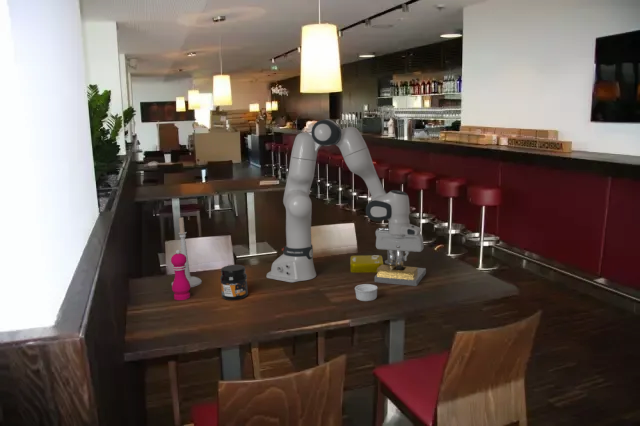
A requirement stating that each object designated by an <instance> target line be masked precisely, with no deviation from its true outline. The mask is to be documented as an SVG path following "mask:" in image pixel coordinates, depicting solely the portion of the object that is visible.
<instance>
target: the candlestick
mask: <svg viewBox="0 0 640 426" xmlns="http://www.w3.org/2000/svg"><path fill="white" fill-rule="evenodd" d="M178 226H179V232H178V233H177V234H178V235H179V238H180V253H181V254H184V255H185V256H186V260H187V261H186V263H185V265H186V269H185V275H186V278H187V279H188V281H189V283H190V288H195V287H197V286H199V285H201V284H202V279H201V278H199V277H198V276H191V272H190V264H189V256H188V249H187V245H186V244H187V243H186V236H187V235H186V234H187V231H185V221H184V217H182V216H180V217H178ZM172 284H173V281H172V282H171V285H172Z"/></svg>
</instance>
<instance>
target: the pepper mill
mask: <svg viewBox="0 0 640 426" xmlns="http://www.w3.org/2000/svg"><path fill="white" fill-rule="evenodd" d="M186 261H187V260H186V256H185V255H184V254H181V249H176V250H175V254H173V255H171V259H170V262H171V264H172V265H173V266H172V269H173V271H174V279H173V281H172V282H173V284H172V283H171V290H172V292H173V293H174V294H173V298H174V300H175V301H185V300H189V298H191V293H190V289H191V287H190V283H189V281H188V279H187V278H186V275H185V269H186V265H185V263H186Z"/></svg>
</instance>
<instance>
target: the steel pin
mask: <svg viewBox="0 0 640 426" xmlns="http://www.w3.org/2000/svg"><path fill="white" fill-rule="evenodd" d="M396 248H400V246H396ZM403 256H404V251H399V250H396V270H403V266H404V261H403Z"/></svg>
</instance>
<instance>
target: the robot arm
mask: <svg viewBox="0 0 640 426" xmlns="http://www.w3.org/2000/svg"><path fill="white" fill-rule="evenodd" d="M330 146H336V147H338V148H339V151H340V152H341V156H342V157H343V160H344V162H345V164H346V167H348V170H349V171H350V172H351V173H353V174H355V175H357V176H359V177H360V178H361V179H362V180H363V181H364V184H365V185H366V187H367V189H368V191H369V194H370V196H371V200H370V201H369V202H368V203H367V204H366V207H365V214H366V216H367V217H368V219H369V220H371V221H373V222H383V221H388V227H378V228H376V230H375V237H376V239H375V247H376V249H377V250H386V251H387V250H389V253H390V254H391V256H392V260H396V255H394V253H393V251H394V250H399V251H403V252H404V254H405V255H403V262H406V261H407V260H408V256H409V254H410V252H415V253H417V252H418V253H420V252H422V251H423V250H424V248H425V247H424V246H425V245H424V238H423V235H422V233H421V232H422V229H421V227H419V226H417V225H414V224H412V223H411V221H410V217H409V215H410V212H411V211H410V198H409V195H408V193H407V192H405V191H402V190H398V189H392V190H390V191H389V192H387V191H386V190H385V187H384V186H383V184H382V183H383V182H382V181H381V179H380V178H379V175H378V173H377V171H376V170H377V169H376V168H375V166H374V163H373V159H372V157H371V154H370V150H369V148H368V145H367V143H366V141H365V140H364V136H362V134H361V132H360V131H359V129H358V128H356V127H354V126H348V127H345V128H341V127H340V125H339V124H338V123H337V122H335V121H334V120H332V119H325V118H324V119H320V120H318V121H316V122H315V123H314V124H313V125H312V127H311V132H300V133H298V134H297V135H296V136H295V139H294V141H293V145H292V148H291V155H290V161H289V166H288V168H289V169H288V174H287V179H286V183H285V187H284V193H283V199H282V202H283V203H282V204H283V205H284V207H285V238H286V239H285V240H286V241H285V243H286V245H284V246H283V248H281V252H283V254H281V255H280V256H279V257H277V258H276V259H275V260H274V261H273V262H272V264H271V268H270V269H271V270H270V271H269V272H267V273H266V278H267V279H271V280H277V281H283V282H287V283H296V282H302V281H309V280H312V279H315V278H316V276H317V272H316V268H315V265H314V260H313V259H314V258H313V257H314V249H313V244H312V214H313V213H312V211H313V209H312V206H313V205H312V199H311V198H310V192H311V187H312V184H313V181H314V177H315V171H316V170H315V169H316V164H317V163H316V162H317V157H318V152H319V149H320V148H321V147H330ZM396 246H400V248H396Z"/></svg>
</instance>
